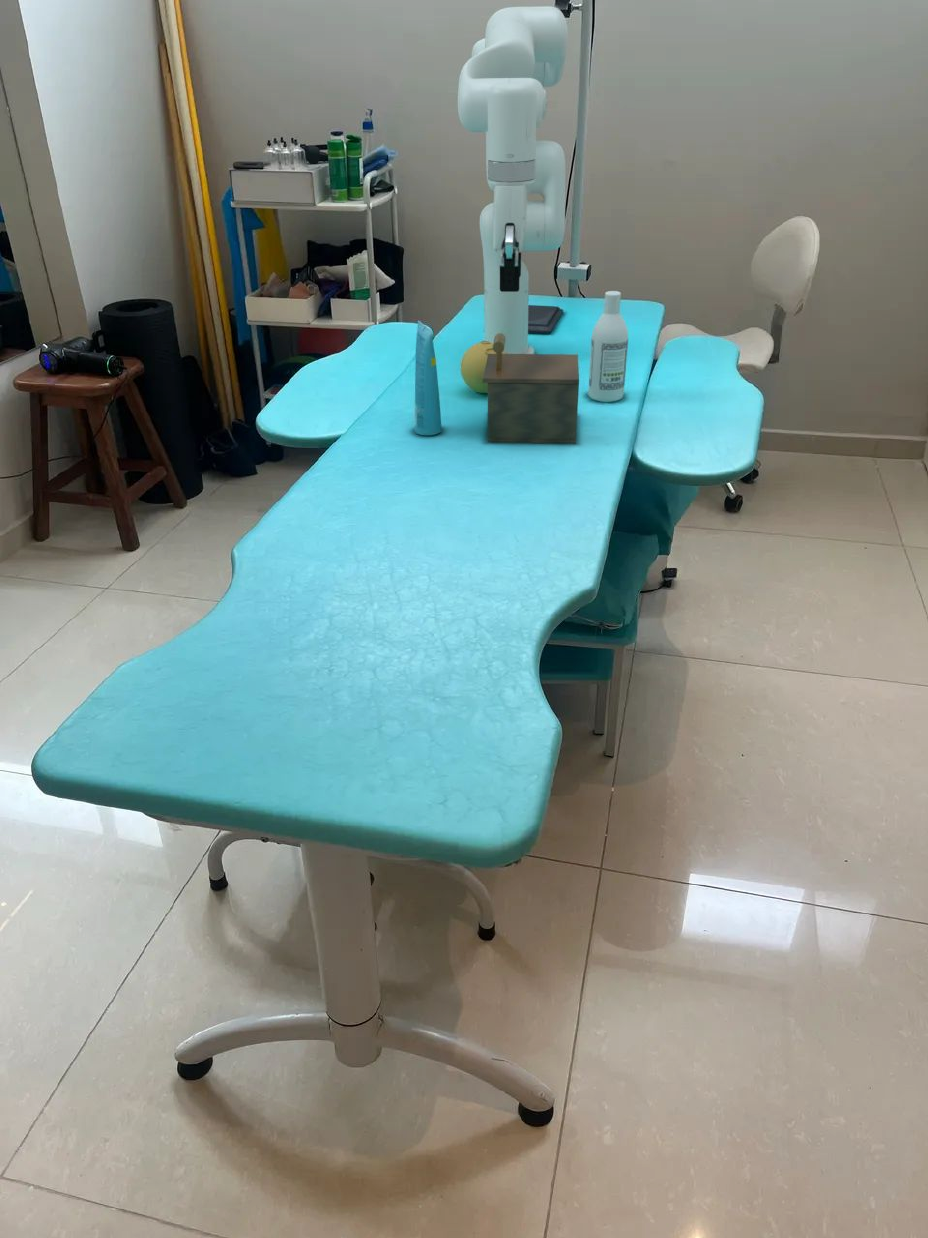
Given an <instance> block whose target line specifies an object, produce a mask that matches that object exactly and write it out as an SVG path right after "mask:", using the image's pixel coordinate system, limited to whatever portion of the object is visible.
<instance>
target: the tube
mask: <svg viewBox="0 0 928 1238" xmlns="http://www.w3.org/2000/svg"><path fill="white" fill-rule="evenodd" d="M432 335H433V331H432V330H431V329H430V328H429V327H427V325H425V324H424V323H423V322H421V321H420V320H419V319H418V320H417V326H416V337H415V338H416V341H415V365H414V367H415V368H414V369H415V373H414V431H415V433H416V434H417V435H420V436H435V435H438V434H440V433H441V432H442V417H441V416H442V415H441V401H440V400H441V399H440V391H439V390H440V389H439V379H438V369H437V367H438V366H437V360H436V352H435V347H434V346H435V345H434V339H433V336H432Z"/></svg>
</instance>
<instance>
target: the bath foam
mask: <svg viewBox="0 0 928 1238" xmlns="http://www.w3.org/2000/svg"><path fill="white" fill-rule="evenodd" d="M621 297H622V293H621V291H618V290H608V291H605V293H604V303H603V304H604V305H603V313H602V314H601V316H599V319H598V320H597V321H596V323H595V324H594V327H593V329H592V333H591V340H590V356H589V357H590V358H589V375H588V390H587V391H588V392H587V393H588V397H589V398H590V399H592V400H593V401H596V402H601V403H610V402H611V403H612V402H617V401H620V400H621V399H622V398H624V393H625V385H626V384H625V383H626V373H627V372H626V371H627V360H628V358H627V357H628V347H629V332H628V331H629V329H628V327H627V326H628V325H627V324H626V322H625V320H624V318H623V316H622V314H621V313H620V312H621V311H620V310H621Z"/></svg>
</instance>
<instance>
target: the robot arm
mask: <svg viewBox="0 0 928 1238" xmlns="http://www.w3.org/2000/svg"><path fill="white" fill-rule="evenodd" d="M568 45H569V29H568V23H567V20H566V17H565V16H564V13H563V12H562V11H561V10H560V8H558V7H555V6H550V5H546V6H508V7H504V8H501V9H499V10H497V11H495V12H494V13H493V14H492V15H491V16H490V17H489V20H488V21H487V24H486V27H485V34H484V38H482V39H480V40H478V41H476V42H475V44H474V45H473V47H472V49H471V58H469V59H468V60H467V61H466V62H465V63H464V65H463V67H462V68H461V71H460V73H459V79H458V87H457V113H458V119H459V122H460V124H461V126H462V127H463V128H464V129H465V130H466V131H468V132H472V133H485V170H486V181H487V185H488V187H489V189H490V190H491V191H493V202H491V203H489V204H487V205H485V207H484V208H483V209H482V210H481V212H480V214H479V225H478V226H479V233H480V239H481V247H482V256H483V257H482V258H483V288H484V289H483V294H484V297H483V298H484V302H483V304H484V309H483V310H484V311H483V312H484V341H489V342H490V343H494V338H495V336H496V335H497V334H499V333H501V334H503V335H504V336H505V338H506V340H505V346H504V352H505V353H507V354H535V349H534V348H533V346H531V345H529V333H528V305H529V299H530V298H529V297H530V296H529V295H530V275H529V270H528V267H527V266H526V264H525V263H524V261H523V260H522V252H548V251H550V252H551V251H556V250H558V249H559V248H560V247H561V246H562V244H563V242H564V237H565V231H566V186H567V185H566V181H567V180H566V179H567V174H566V173H567V172H566V169H567V167H566V157H565V156H566V155H565V152H564V149H563V147H562V145H560V144H559V143H558V142H556V141H552V140H537V129H538V128H539V127H540V126H541V124H542V122H543V121H544V120H545V119H546V116H547V111H548V110H547V109H548V96H547V90H546V89H544V88H552V87H554V86H556V85H558V84H559V83H560V82H561V79H562V77H563V75H564V70H565V65H566V59H567V54H568V48H569V47H568ZM528 194H538V195H541V197H542V198H543V200H528Z"/></svg>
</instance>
